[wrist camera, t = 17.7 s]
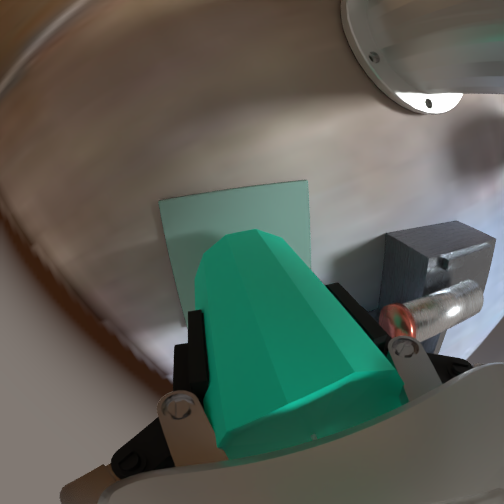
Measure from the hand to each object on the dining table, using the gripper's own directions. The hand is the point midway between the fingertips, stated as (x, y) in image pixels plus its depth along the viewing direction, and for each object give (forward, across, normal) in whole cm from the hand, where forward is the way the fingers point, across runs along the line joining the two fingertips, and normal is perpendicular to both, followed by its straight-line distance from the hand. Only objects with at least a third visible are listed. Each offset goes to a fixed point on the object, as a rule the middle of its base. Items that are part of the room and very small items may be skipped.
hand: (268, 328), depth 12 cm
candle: (+5, 0, 0) cm, 5 cm away
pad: (+7, 0, 0) cm, 7 cm away
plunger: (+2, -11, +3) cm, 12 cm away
